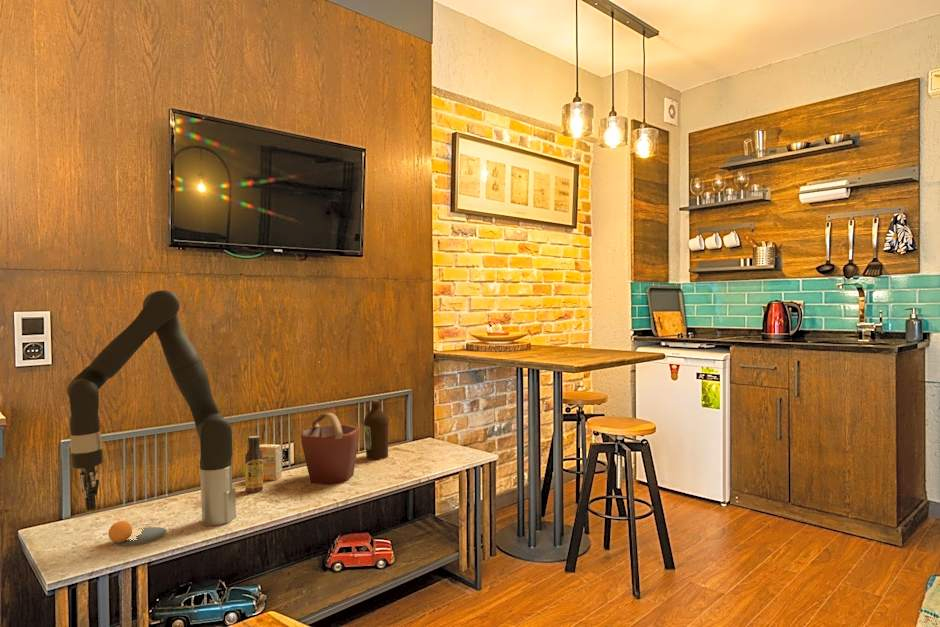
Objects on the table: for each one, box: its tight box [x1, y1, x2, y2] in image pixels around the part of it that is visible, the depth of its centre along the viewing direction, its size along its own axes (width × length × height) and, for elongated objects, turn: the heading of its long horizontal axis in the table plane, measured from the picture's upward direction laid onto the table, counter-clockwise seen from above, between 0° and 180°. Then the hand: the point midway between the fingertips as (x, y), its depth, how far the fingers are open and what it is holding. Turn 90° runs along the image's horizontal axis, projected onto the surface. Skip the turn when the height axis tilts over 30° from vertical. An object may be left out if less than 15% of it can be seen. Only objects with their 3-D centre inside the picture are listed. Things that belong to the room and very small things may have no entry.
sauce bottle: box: [244, 435, 264, 493], centre depth 220 cm, size 7×6×20 cm
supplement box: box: [259, 443, 283, 481], centre depth 235 cm, size 8×5×13 cm, turn 81°
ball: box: [108, 520, 133, 543], centre depth 175 cm, size 6×6×6 cm
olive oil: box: [363, 399, 389, 461], centre depth 263 cm, size 11×11×25 cm
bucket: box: [300, 412, 360, 486], centre depth 234 cm, size 24×22×25 cm
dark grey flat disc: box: [112, 526, 168, 547], centre depth 179 cm, size 14×14×1 cm
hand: (90, 509), depth 170 cm, fingers closed
